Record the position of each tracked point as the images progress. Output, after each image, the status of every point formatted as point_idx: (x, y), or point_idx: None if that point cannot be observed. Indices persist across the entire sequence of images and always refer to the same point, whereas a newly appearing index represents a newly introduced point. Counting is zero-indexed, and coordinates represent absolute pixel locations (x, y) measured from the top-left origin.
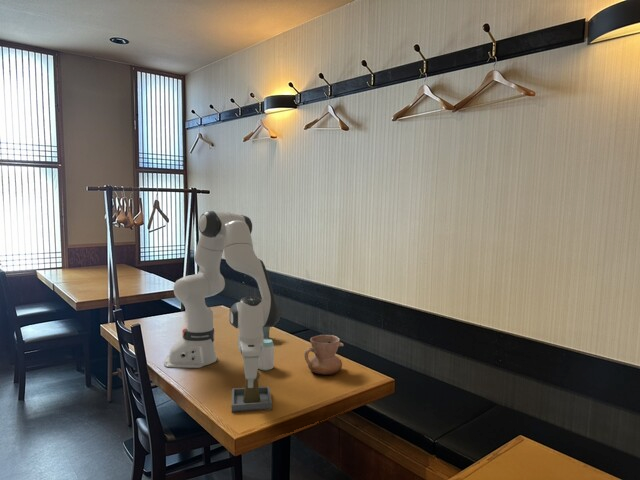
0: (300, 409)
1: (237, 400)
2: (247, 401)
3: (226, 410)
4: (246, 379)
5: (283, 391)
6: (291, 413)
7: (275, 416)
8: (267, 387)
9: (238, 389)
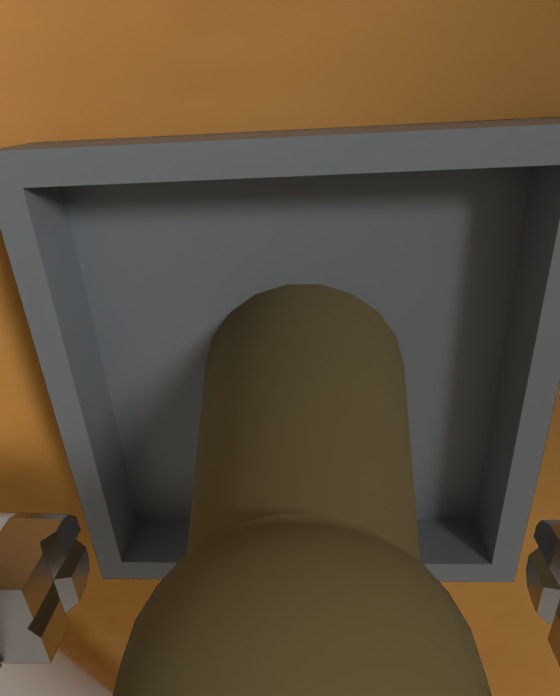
0: None
1: (321, 211)
2: (215, 344)
3: (84, 64)
4: (193, 552)
5: (486, 619)
6: (73, 627)
7: None
8: (489, 566)
9: (552, 234)
